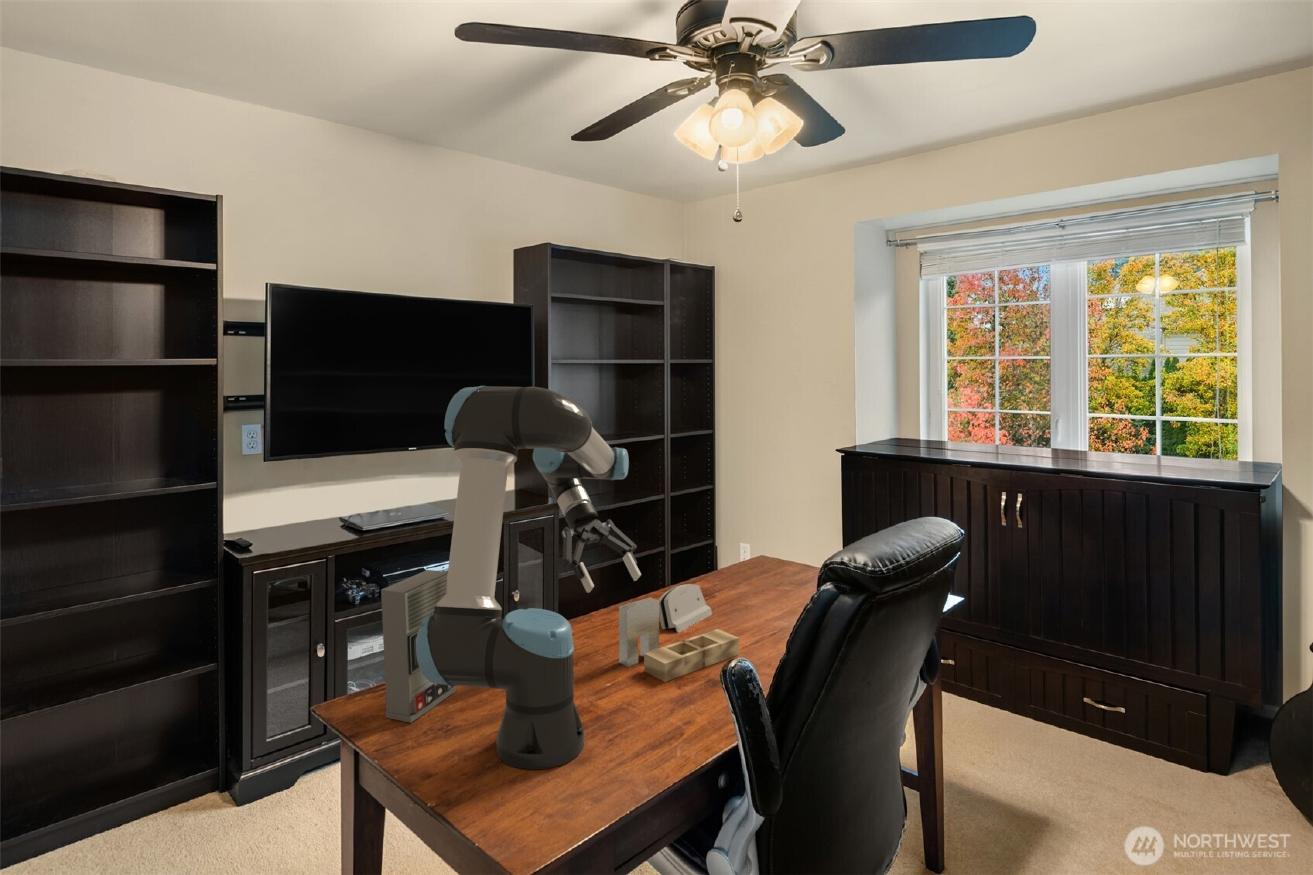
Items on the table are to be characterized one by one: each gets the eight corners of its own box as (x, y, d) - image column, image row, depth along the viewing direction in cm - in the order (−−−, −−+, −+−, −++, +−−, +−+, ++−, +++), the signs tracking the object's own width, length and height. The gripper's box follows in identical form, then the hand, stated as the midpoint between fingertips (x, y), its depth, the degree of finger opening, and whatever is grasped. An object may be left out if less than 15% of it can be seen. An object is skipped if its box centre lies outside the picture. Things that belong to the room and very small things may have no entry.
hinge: (677, 633, 179) (666, 593, 180) (663, 635, 182) (652, 596, 183) (713, 613, 193) (702, 577, 194) (699, 616, 196) (688, 579, 197)
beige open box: (665, 681, 152) (665, 663, 152) (644, 670, 158) (644, 653, 157) (738, 654, 166) (738, 637, 166) (717, 645, 172) (717, 628, 171)
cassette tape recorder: (412, 724, 135) (407, 593, 132) (385, 718, 137) (380, 589, 134) (457, 692, 148) (453, 572, 145) (432, 687, 150) (427, 569, 147)
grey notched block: (627, 666, 160) (627, 609, 159) (619, 662, 162) (618, 605, 161) (659, 656, 166) (659, 600, 164) (650, 652, 168) (650, 597, 166)
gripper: (612, 511, 190) (649, 581, 180) (528, 526, 174) (563, 603, 164) (624, 494, 185) (662, 565, 176) (539, 507, 169) (576, 586, 160)
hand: (614, 583), depth 170 cm, fingers open, 13 cm apart
